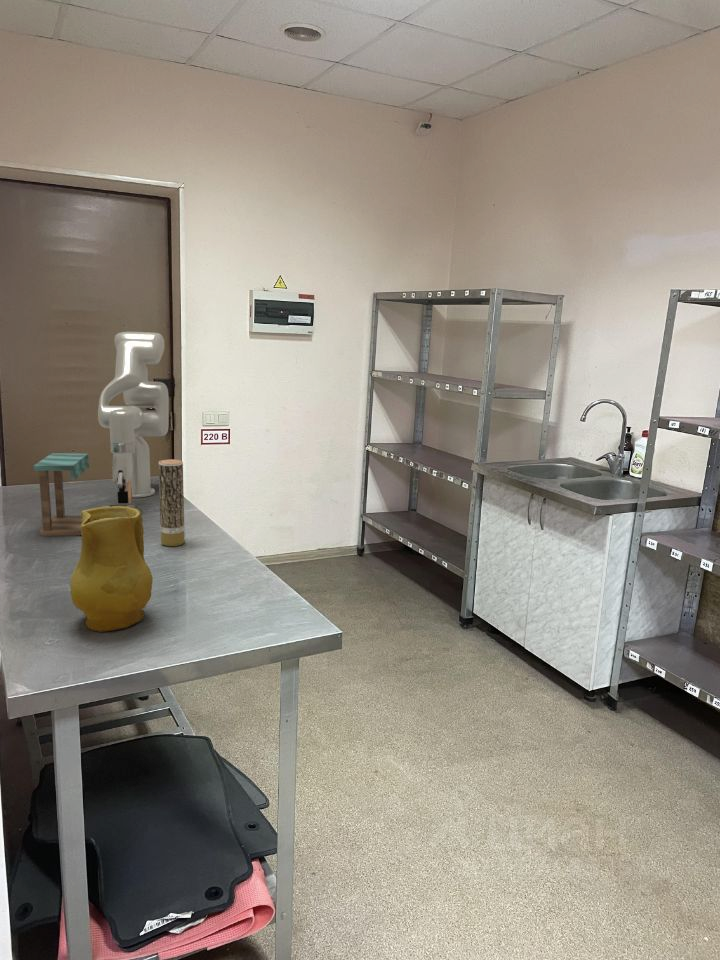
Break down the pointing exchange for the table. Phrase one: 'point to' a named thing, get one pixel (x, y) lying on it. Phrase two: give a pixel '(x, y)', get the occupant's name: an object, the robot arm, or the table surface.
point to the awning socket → (61, 493)
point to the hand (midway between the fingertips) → (124, 500)
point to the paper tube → (171, 502)
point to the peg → (128, 492)
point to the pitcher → (111, 569)
